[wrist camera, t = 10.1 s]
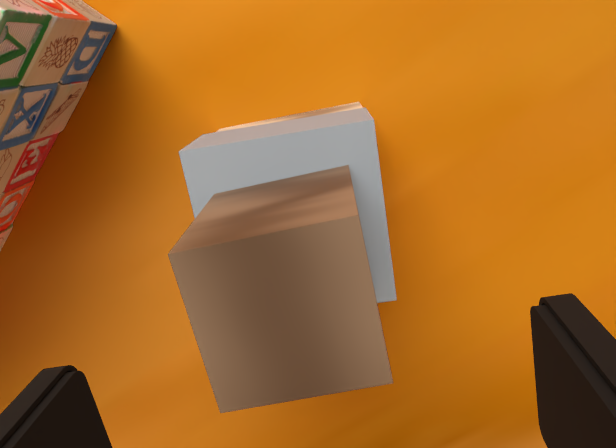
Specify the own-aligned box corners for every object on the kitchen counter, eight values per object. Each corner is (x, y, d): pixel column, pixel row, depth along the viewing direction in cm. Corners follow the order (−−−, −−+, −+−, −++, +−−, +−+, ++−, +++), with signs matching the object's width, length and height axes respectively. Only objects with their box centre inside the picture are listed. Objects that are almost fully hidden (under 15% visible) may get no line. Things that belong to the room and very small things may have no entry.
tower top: (365, 107, 22) (373, 119, 18) (385, 260, 24) (396, 300, 20) (203, 134, 23) (178, 151, 19) (236, 282, 25) (220, 323, 21)
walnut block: (348, 164, 19) (358, 215, 13) (374, 289, 20) (393, 383, 15) (214, 193, 19) (167, 254, 14) (249, 313, 21) (220, 413, 15)
